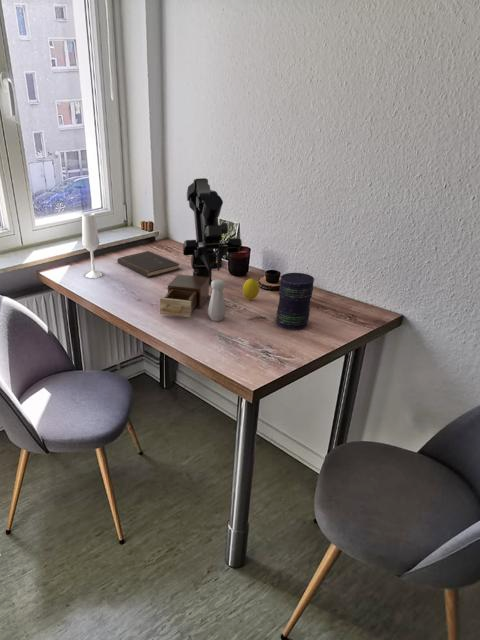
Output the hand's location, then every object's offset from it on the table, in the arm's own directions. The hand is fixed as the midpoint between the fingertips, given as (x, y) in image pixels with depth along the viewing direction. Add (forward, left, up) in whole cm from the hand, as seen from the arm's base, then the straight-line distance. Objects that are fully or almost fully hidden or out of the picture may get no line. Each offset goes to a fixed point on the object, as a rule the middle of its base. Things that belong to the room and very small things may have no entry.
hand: (214, 270), depth 163 cm
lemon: (-15, +2, -14) cm, 21 cm away
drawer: (+12, -3, -13) cm, 18 cm away
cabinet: (+2, -11, -14) cm, 17 cm away
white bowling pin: (+4, +7, -14) cm, 16 cm away
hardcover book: (-7, -51, -14) cm, 53 cm away
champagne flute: (+16, -56, -14) cm, 60 cm away
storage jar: (-12, +24, -14) cm, 30 cm away
